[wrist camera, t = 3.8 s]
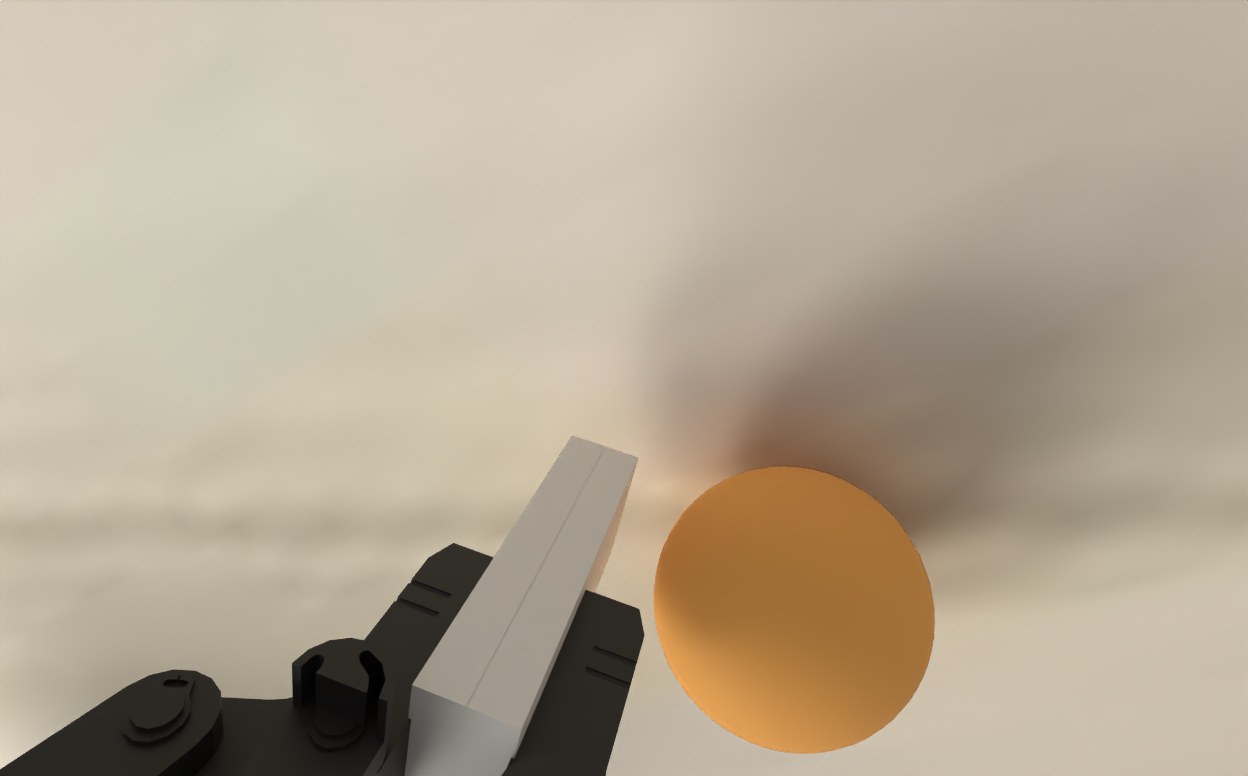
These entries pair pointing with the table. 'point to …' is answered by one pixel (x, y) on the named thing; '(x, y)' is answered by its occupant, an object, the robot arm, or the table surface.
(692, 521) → the ball
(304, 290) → the table surface
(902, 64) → the table surface
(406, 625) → the robot arm
